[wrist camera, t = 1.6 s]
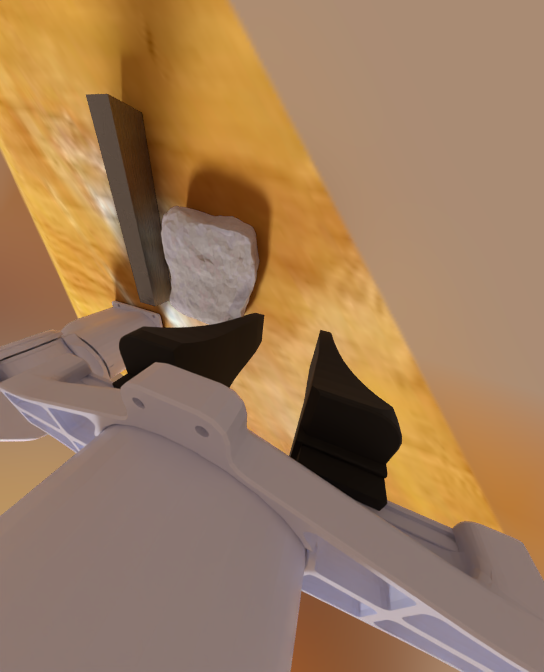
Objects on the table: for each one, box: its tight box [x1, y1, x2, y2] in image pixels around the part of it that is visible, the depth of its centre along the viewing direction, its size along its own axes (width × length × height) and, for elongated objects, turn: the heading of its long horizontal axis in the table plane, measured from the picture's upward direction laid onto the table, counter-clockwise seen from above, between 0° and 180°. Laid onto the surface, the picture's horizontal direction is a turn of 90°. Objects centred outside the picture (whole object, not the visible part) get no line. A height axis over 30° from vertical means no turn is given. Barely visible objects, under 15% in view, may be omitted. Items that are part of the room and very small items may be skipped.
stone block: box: [161, 206, 259, 325], centre depth 22 cm, size 12×5×10 cm
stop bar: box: [86, 94, 171, 306], centre depth 21 cm, size 2×18×3 cm, turn 175°
